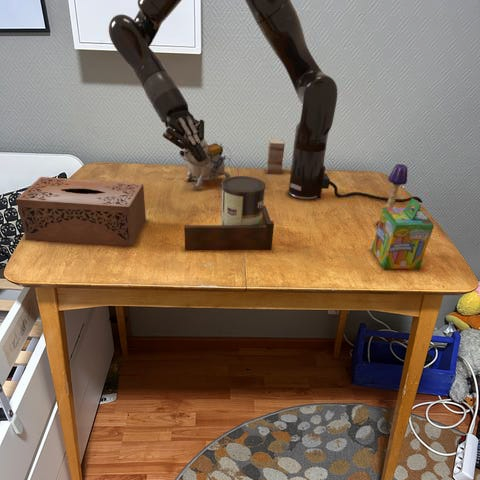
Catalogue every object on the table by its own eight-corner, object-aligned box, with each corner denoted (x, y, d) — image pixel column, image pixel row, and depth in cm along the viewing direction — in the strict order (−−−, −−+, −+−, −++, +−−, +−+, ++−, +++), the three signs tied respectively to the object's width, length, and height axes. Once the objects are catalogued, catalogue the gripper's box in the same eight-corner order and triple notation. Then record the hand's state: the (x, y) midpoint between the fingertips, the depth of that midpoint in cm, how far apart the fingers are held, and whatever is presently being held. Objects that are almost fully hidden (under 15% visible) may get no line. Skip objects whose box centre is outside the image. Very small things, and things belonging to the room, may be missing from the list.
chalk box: (370, 250, 115) (384, 193, 106) (406, 250, 116) (423, 193, 107) (382, 270, 108) (398, 209, 99) (420, 270, 109) (440, 210, 100)
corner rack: (264, 226, 123) (266, 201, 119) (271, 250, 113) (274, 223, 109) (184, 226, 121) (184, 201, 117) (184, 250, 111) (184, 223, 106)
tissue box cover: (25, 239, 111) (15, 199, 105) (48, 214, 123) (40, 176, 117) (133, 246, 111) (129, 206, 105) (146, 220, 123) (143, 183, 117)
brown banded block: (266, 173, 155) (268, 142, 149) (265, 169, 159) (268, 138, 153) (282, 174, 156) (285, 143, 150) (281, 169, 159) (284, 139, 153)
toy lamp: (394, 225, 128) (411, 164, 118) (393, 232, 124) (410, 170, 114) (377, 221, 129) (391, 161, 119) (375, 228, 125) (390, 166, 115)
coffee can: (262, 230, 121) (266, 177, 113) (259, 249, 113) (264, 193, 104) (222, 227, 122) (224, 174, 113) (217, 245, 113) (218, 189, 105)
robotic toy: (168, 183, 144) (166, 133, 135) (212, 172, 154) (212, 124, 145) (194, 197, 137) (193, 144, 128) (238, 184, 146) (240, 134, 137)
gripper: (151, 90, 106) (191, 158, 107) (192, 83, 114) (229, 146, 115) (137, 111, 111) (176, 174, 113) (177, 102, 120) (212, 162, 121)
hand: (202, 160), depth 114 cm, fingers closed
